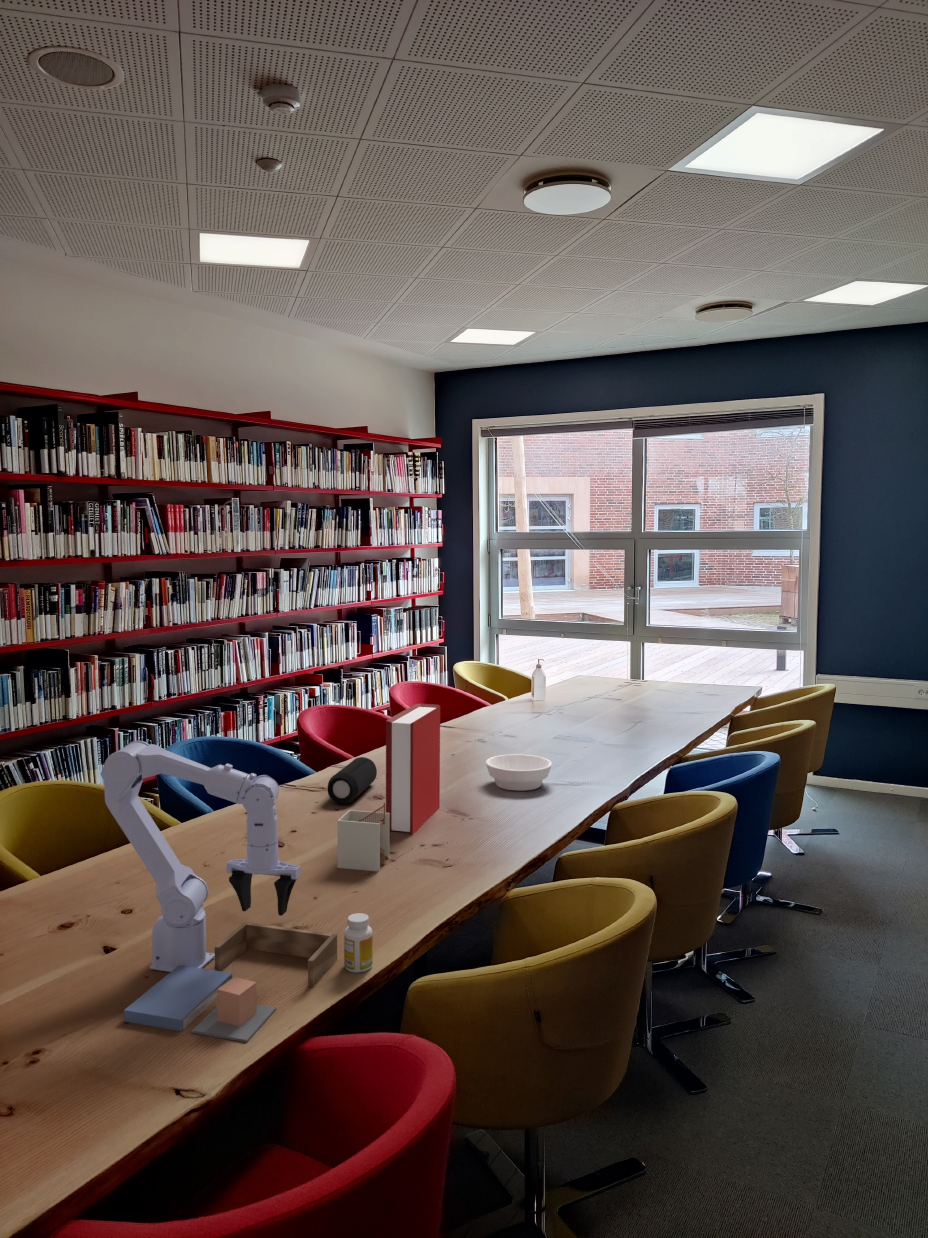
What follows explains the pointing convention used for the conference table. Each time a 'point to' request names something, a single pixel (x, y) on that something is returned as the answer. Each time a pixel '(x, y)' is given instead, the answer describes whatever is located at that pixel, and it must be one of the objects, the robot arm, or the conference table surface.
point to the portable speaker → (352, 780)
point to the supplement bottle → (358, 944)
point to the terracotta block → (237, 1001)
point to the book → (413, 767)
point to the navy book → (177, 998)
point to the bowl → (518, 771)
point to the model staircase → (363, 840)
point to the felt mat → (233, 1032)
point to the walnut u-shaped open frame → (280, 946)
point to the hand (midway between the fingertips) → (264, 911)
